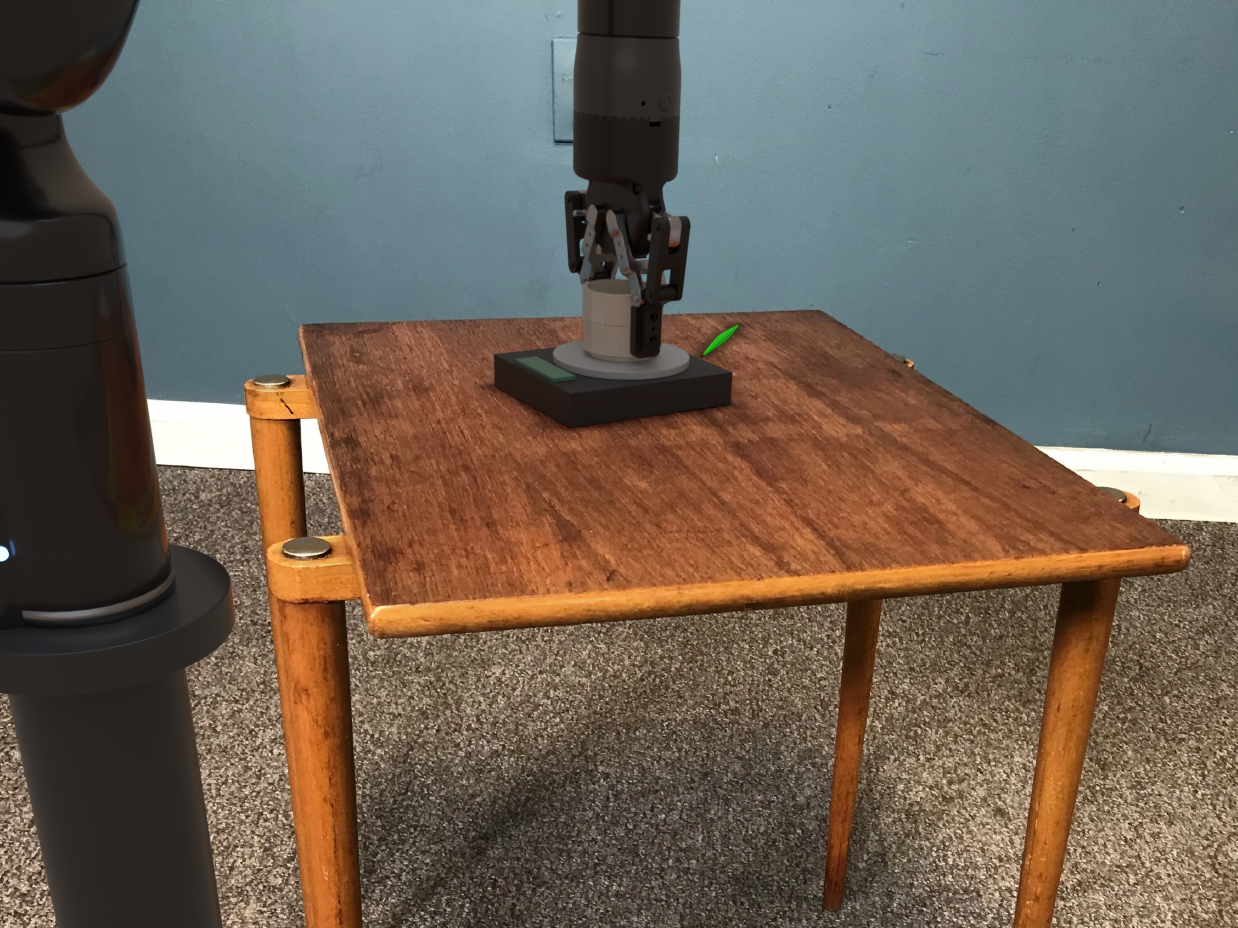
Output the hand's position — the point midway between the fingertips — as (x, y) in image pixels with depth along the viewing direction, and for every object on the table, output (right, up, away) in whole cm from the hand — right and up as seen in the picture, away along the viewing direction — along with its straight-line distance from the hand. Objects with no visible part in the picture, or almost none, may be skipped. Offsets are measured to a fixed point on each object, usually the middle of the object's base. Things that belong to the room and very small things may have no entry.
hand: (621, 345), depth 103 cm
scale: (-1, -3, +1) cm, 4 cm away
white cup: (0, -1, 0) cm, 1 cm away
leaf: (+8, +5, +19) cm, 21 cm away
